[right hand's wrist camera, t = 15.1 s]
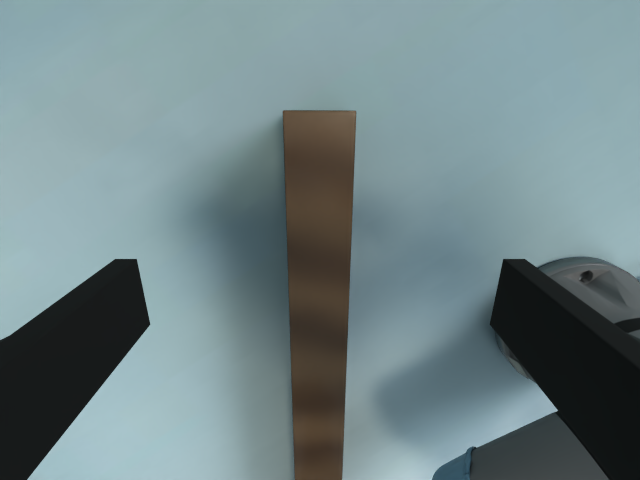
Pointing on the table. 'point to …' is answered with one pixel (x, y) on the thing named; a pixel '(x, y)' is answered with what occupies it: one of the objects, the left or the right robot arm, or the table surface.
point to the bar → (318, 281)
